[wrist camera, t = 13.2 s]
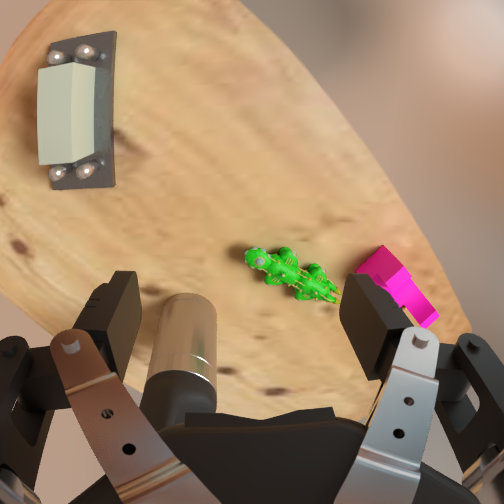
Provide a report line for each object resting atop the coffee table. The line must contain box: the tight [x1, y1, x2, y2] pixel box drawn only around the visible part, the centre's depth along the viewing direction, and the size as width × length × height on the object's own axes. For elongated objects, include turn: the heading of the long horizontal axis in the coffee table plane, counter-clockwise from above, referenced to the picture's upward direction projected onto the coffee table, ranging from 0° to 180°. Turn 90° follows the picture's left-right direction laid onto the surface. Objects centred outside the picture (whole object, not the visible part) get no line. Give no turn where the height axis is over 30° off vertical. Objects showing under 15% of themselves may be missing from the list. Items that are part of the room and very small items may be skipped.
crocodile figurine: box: [244, 247, 341, 304], centre depth 48 cm, size 7×18×4 cm, turn 57°
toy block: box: [355, 245, 439, 329], centre depth 50 cm, size 15×6×8 cm, turn 46°
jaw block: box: [37, 62, 95, 165], centre depth 33 cm, size 5×12×7 cm, turn 176°
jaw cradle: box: [46, 31, 117, 190], centre depth 34 cm, size 22×10×5 cm, turn 177°
